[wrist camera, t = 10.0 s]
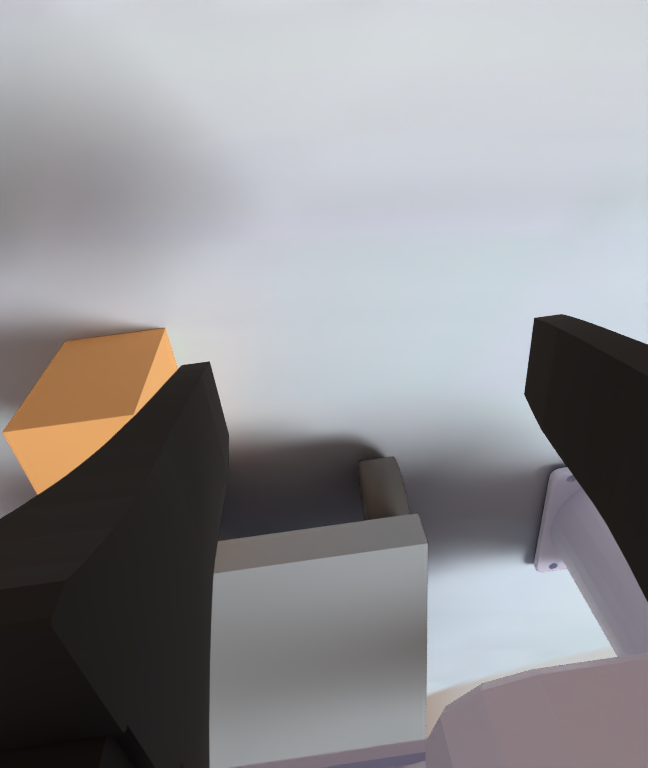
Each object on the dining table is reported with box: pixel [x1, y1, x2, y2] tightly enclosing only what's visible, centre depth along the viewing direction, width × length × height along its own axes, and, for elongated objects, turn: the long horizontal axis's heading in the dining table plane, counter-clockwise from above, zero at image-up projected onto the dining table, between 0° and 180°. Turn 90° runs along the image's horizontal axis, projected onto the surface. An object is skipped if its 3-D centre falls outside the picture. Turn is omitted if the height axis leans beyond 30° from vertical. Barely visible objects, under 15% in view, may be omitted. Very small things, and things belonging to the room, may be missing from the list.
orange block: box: [2, 328, 178, 495], centre depth 20 cm, size 4×7×6 cm, turn 6°
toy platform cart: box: [209, 457, 428, 768], centre depth 25 cm, size 12×19×12 cm, turn 6°
